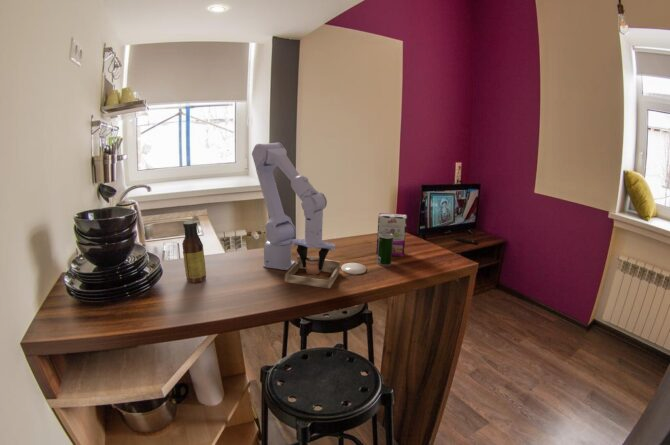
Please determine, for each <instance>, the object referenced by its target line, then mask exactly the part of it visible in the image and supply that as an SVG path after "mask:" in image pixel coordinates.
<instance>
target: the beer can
mask: <svg viewBox="0 0 670 445" xmlns="http://www.w3.org/2000/svg"><path fill="white" fill-rule="evenodd" d="M392 248H393V233H391V232H380V235H379V242H378V254H377V259H376V262H377V264H378V266H381V267H382V266H383V267H389V266H390V265H391V264H392V258H393V256H392Z"/></svg>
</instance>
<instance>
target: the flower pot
mask: <svg viewBox="0 0 670 445" xmlns="http://www.w3.org/2000/svg"><path fill="white" fill-rule="evenodd" d="M305 262H306V269H305V273H306V274H307V275H311V276H312V275H313V276H314V275H315V276H316V275H318V274H320V273H321V271H320V270H319V256H315V255H314V256H313V255H312V256H307V258H306V259H305Z"/></svg>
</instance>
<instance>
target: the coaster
mask: <svg viewBox="0 0 670 445" xmlns="http://www.w3.org/2000/svg"><path fill="white" fill-rule="evenodd" d="M340 269H341V271H342V272H343V273H345V274H348V275H353V276H354V275H362V274H364V273H366V271H367V267H366V265H364V264H361V263H359V262H358V263H357V262H348V263H346V262H345V263H343V264H342V265H341V266H340Z"/></svg>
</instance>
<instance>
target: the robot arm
mask: <svg viewBox="0 0 670 445" xmlns="http://www.w3.org/2000/svg"><path fill="white" fill-rule="evenodd" d="M287 152H288V151H287V149H286V148H285V147H284V145H283V144H282V143H280V142H271V143H269V142H268V143H256V144H255V145H254V147H253V150H252V152H251V155H252V159H253V163H254V167H255V171H256V175H257V178H258V182H259V185H260V190H261V192H262V196H263V199H264V203H265V204H264V205H265V207H266V209H267V213H268V216H269V218H268V220H267V222H266V223H265V224H264V226H265V232H266V233H265V237H266V239H267V241H266V242H265V244H264V245H263V246H264V247H263V261H264V262H263V263H264V264H263V268H268V269H275V270H283V271H289V270H290V269H291V267H292V266H293V265H294V264H295V263H296V261H295V260H292V247H297V248H296V252H297V254H298V256H300V258H301V261H302V264H303V267H304V268H305V267H306V262H305V259H306V258H307V257H308V249H317V250H318V249H319V251H318V257H319V270H322V268H323V264H324V260H325V259H326V257H327V255H328V253H329V252H330V251H331V252H334V251H335V250H336V243H331V242H328V241H325V240H323V224H324V223H323V218H324V216H323V215H324V209H325V208H326V207H327V204H328V202H327V201H328V200H327V197H326V195H325V194H324V193H323V192H320V191H318V190H316V188H315V187H314V186H313V184H311V183H310V181H309V179H308V177H307V176H304V175H300V174H299V172H298V171H297V169H296V168H295V166H294V164H293V163H292V162H291V160H290V158H289V157H288V155H287ZM276 167H278V168H279V169H280V170H281V172H282V173H283V174H284V175H285V176H286V178H288V180H289V181H290V187H291V189H292V190H293V191H294V193H295V194H296V196H297V197H298V199H299V200H300V201H301V209H302V210H303V216H304V238H296V236H297V229H296V226H295V225H294V224H293V222H292V219H291V217H290V216H288V215H287V214H285V212H284V207H283V205H282V201H281V200H282V199H281V197H280V194H279V190H278V187H277V184H276V179H275V176H274V172H273V171H274V170H275V168H276Z"/></svg>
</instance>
